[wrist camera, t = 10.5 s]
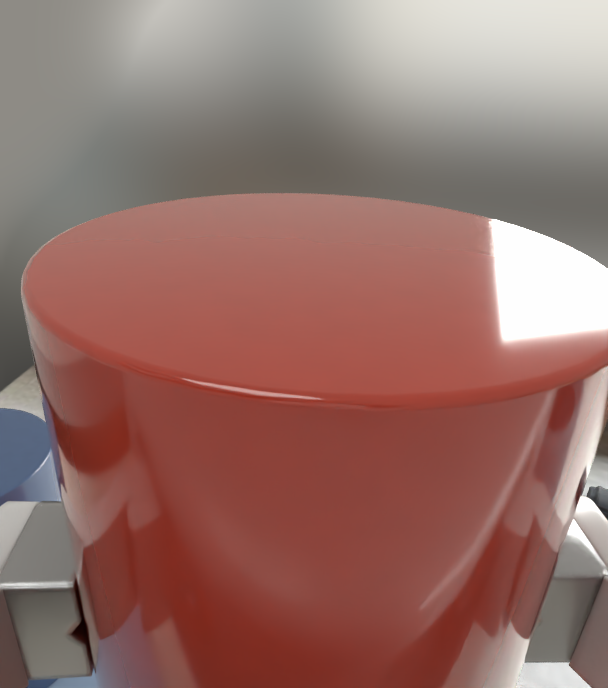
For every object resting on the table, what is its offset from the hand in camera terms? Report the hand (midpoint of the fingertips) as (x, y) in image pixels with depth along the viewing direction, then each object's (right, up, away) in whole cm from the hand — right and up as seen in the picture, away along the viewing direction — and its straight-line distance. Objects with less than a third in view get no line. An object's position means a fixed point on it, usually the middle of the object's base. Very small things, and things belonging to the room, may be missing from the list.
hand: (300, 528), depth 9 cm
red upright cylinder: (0, -5, +1) cm, 5 cm away
